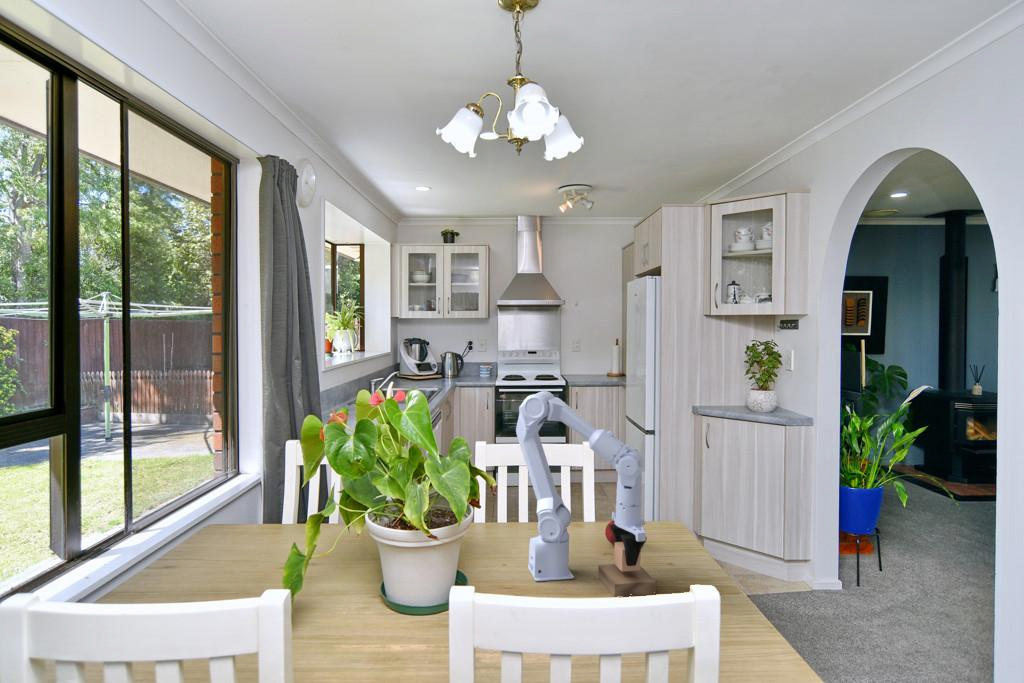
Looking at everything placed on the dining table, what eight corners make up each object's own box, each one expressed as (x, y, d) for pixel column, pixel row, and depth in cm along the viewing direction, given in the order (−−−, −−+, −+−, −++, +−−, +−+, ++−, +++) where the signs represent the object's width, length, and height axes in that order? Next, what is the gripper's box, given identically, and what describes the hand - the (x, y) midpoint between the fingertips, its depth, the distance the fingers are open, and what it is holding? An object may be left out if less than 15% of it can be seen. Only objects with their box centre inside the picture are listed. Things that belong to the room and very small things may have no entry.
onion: (625, 551, 148) (626, 521, 148) (604, 548, 149) (605, 519, 149) (625, 543, 153) (626, 514, 153) (605, 541, 155) (606, 513, 154)
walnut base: (614, 597, 121) (614, 584, 121) (598, 577, 131) (598, 565, 131) (655, 594, 123) (656, 581, 123) (636, 575, 133) (637, 562, 133)
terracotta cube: (621, 571, 124) (622, 549, 124) (614, 563, 129) (614, 542, 129) (640, 570, 125) (640, 548, 125) (631, 562, 130) (632, 541, 130)
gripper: (659, 512, 121) (657, 573, 121) (631, 492, 135) (629, 547, 135) (629, 513, 119) (627, 575, 119) (604, 493, 133) (602, 549, 133)
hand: (626, 560), depth 127 cm, fingers closed on terracotta cube, 4 cm apart
